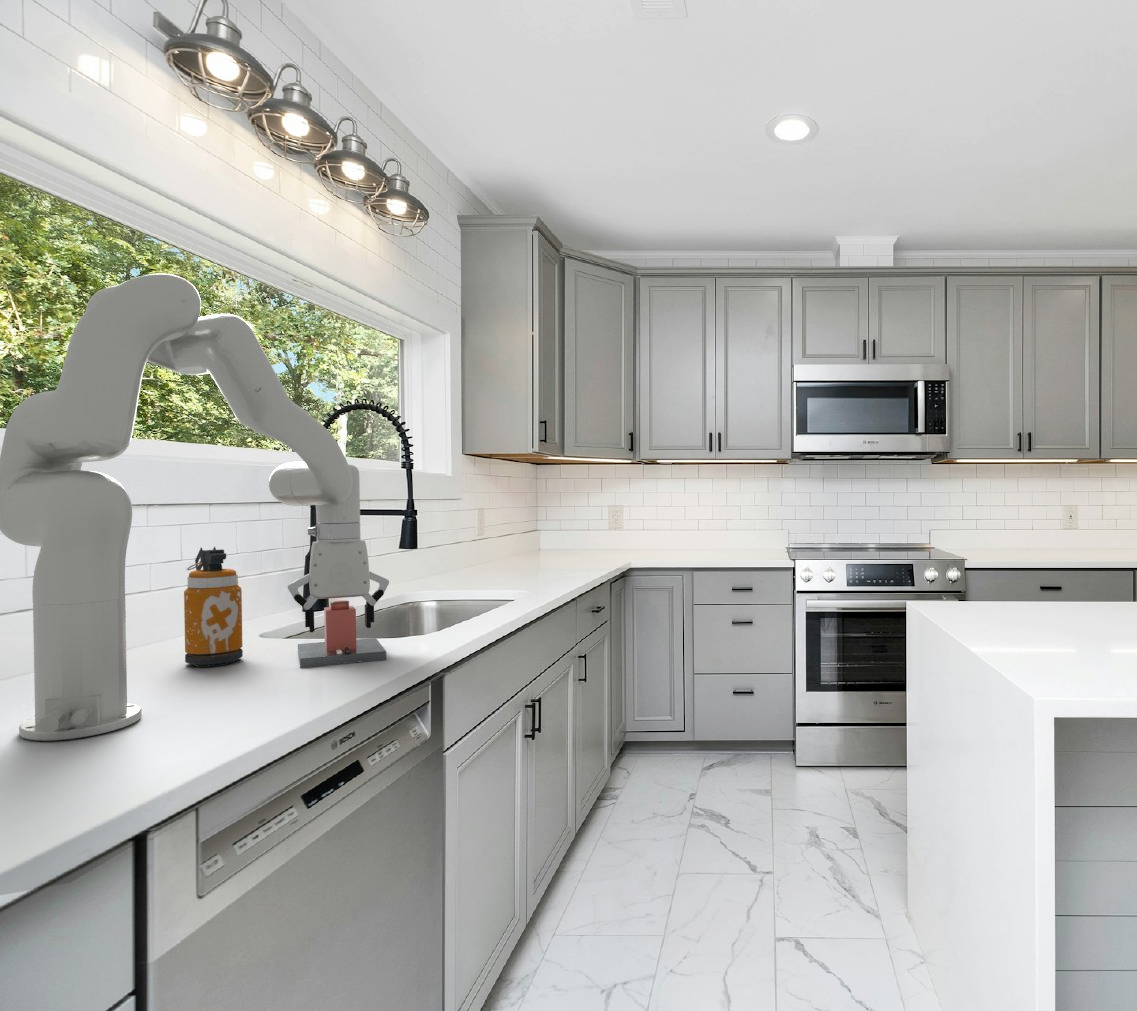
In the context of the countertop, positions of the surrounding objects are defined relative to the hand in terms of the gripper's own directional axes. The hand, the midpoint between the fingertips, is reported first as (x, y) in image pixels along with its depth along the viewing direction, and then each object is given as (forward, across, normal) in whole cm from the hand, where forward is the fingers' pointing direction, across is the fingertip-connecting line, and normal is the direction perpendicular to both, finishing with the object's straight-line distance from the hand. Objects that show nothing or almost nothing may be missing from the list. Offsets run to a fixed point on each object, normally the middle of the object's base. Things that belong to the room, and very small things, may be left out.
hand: (340, 629), depth 131 cm
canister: (+5, -21, +5) cm, 22 cm away
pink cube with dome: (+3, 0, 0) cm, 3 cm away
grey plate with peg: (+5, 0, 0) cm, 5 cm away
